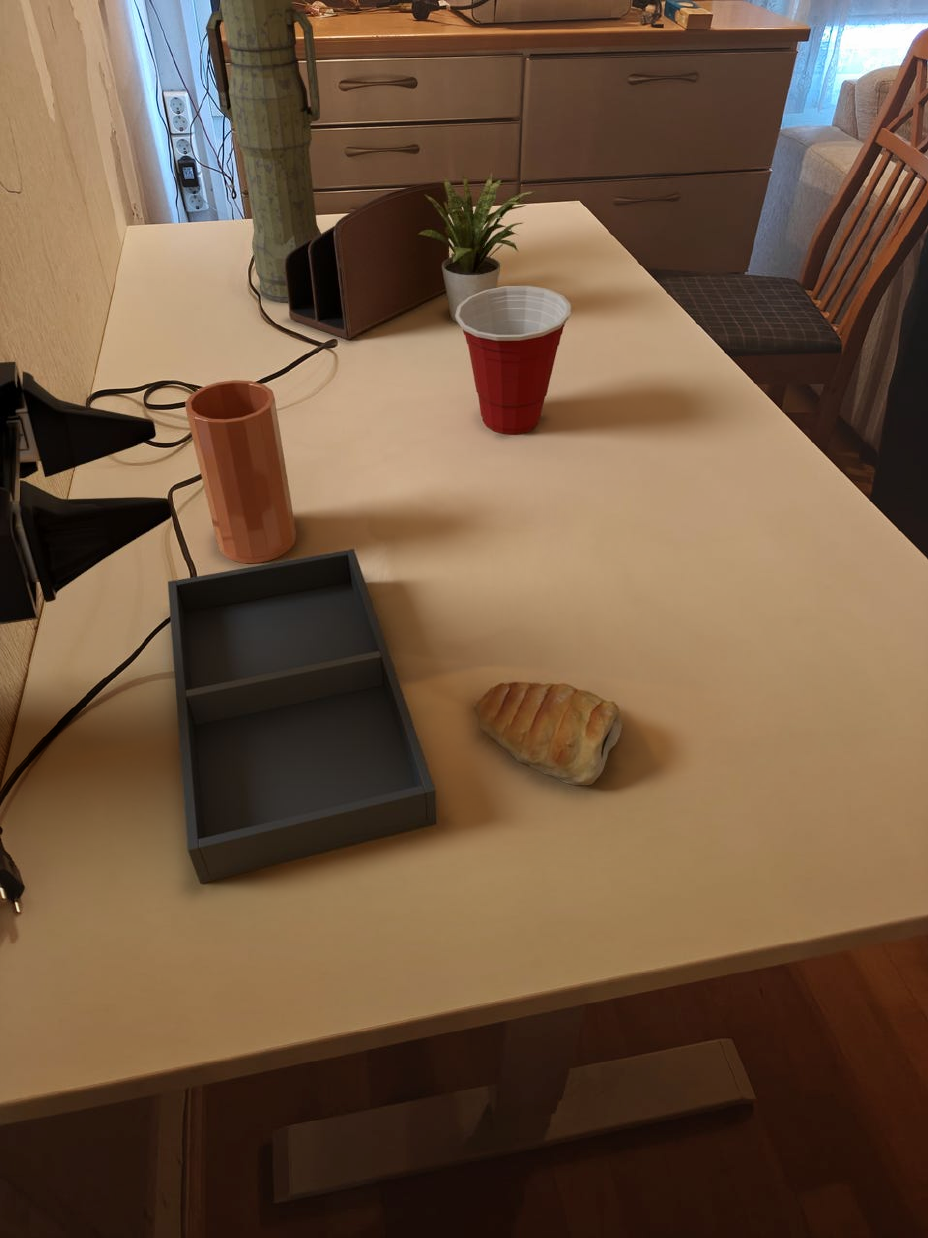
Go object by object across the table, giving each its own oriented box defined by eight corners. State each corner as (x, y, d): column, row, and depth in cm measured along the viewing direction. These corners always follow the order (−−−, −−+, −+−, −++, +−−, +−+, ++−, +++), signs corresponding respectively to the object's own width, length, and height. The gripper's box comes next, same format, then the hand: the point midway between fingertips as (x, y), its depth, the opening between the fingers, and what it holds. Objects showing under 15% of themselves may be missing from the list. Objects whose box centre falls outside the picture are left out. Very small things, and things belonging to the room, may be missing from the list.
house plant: (523, 348, 101) (530, 199, 90) (407, 340, 103) (400, 192, 92) (535, 300, 112) (543, 161, 101) (429, 293, 113) (426, 156, 103)
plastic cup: (437, 409, 91) (435, 295, 83) (527, 387, 94) (533, 275, 86) (487, 459, 83) (490, 339, 75) (582, 432, 87) (594, 315, 79)
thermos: (256, 275, 118) (206, -48, 95) (342, 277, 118) (313, -47, 94) (240, 301, 111) (181, -40, 88) (331, 303, 111) (297, -39, 88)
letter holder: (451, 290, 114) (450, 174, 105) (348, 341, 103) (337, 216, 93) (393, 273, 119) (388, 160, 109) (288, 320, 107) (272, 198, 98)
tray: (200, 884, 49) (187, 850, 47) (177, 615, 67) (167, 581, 64) (437, 824, 52) (435, 790, 50) (357, 582, 70) (353, 548, 67)
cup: (222, 569, 71) (188, 427, 62) (215, 524, 75) (183, 386, 67) (301, 555, 72) (279, 414, 63) (290, 512, 77) (268, 375, 68)
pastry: (458, 750, 57) (458, 710, 54) (497, 682, 61) (499, 643, 59) (595, 798, 54) (602, 759, 51) (626, 724, 59) (633, 684, 56)
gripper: (-251, 448, 35) (159, 414, 40) (-173, 280, 48) (128, 271, 53) (-149, 653, 42) (188, 603, 47) (-105, 459, 55) (154, 436, 60)
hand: (162, 465), depth 51 cm, fingers open, 9 cm apart
